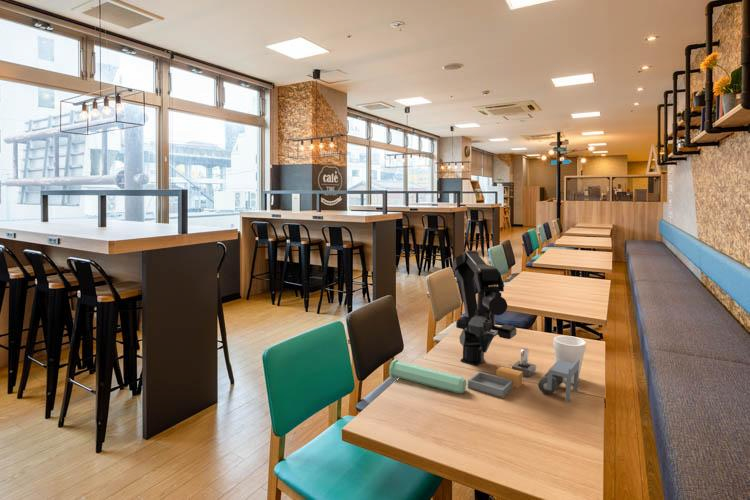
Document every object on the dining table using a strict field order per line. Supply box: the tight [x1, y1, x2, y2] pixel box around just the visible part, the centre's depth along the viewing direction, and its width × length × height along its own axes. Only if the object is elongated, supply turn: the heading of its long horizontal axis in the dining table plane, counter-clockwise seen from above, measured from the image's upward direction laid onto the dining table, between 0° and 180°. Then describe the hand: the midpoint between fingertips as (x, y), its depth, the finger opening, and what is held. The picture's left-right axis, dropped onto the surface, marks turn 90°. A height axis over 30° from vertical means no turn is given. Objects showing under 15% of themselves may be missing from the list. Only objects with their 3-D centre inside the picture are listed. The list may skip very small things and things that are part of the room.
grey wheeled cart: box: [537, 359, 580, 402], centre depth 133 cm, size 9×10×10 cm
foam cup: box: [553, 335, 587, 384], centre depth 141 cm, size 10×9×13 cm
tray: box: [467, 371, 514, 399], centre depth 136 cm, size 11×8×2 cm
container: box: [388, 358, 467, 394], centre depth 139 cm, size 6×6×25 cm
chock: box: [495, 366, 524, 389], centre depth 140 cm, size 7×4×4 cm, turn 52°
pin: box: [519, 347, 530, 368], centre depth 147 cm, size 2×2×8 cm
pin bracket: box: [511, 360, 537, 379], centre depth 147 cm, size 6×6×2 cm
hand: (484, 352), depth 144 cm, fingers closed
